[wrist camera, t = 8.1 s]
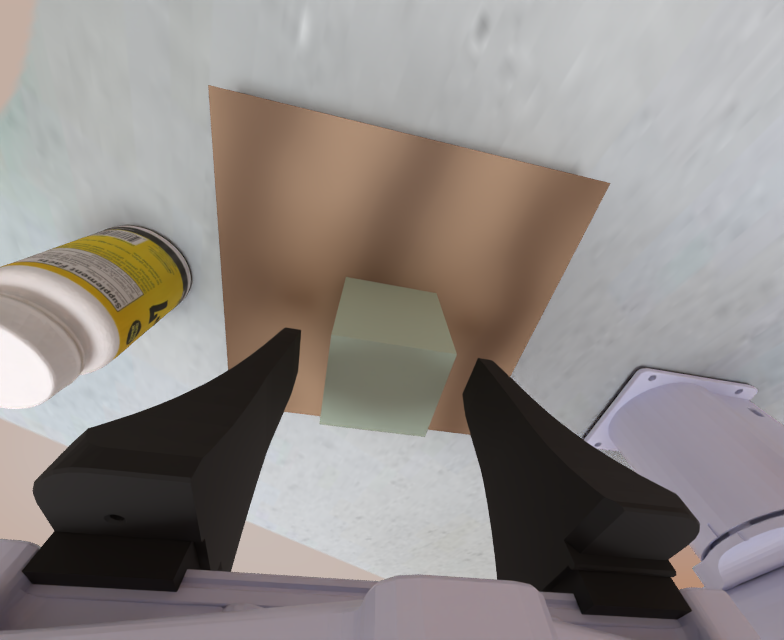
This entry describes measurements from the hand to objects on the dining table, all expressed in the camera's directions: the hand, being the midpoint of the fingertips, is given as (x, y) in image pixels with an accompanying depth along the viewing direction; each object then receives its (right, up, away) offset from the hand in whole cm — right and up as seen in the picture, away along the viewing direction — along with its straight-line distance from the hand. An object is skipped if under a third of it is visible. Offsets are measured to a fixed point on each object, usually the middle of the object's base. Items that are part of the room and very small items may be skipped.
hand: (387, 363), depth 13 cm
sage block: (0, +2, +4) cm, 4 cm away
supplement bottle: (-13, +5, +5) cm, 15 cm away
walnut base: (0, +3, +6) cm, 7 cm away
